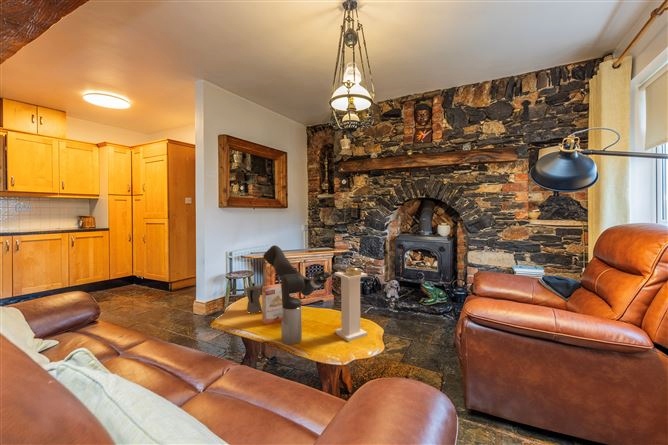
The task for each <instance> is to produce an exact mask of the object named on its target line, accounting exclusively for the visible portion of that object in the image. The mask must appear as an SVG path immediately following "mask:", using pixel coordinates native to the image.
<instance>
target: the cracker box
mask: <svg viewBox="0 0 668 445" xmlns="http://www.w3.org/2000/svg"><path fill="white" fill-rule="evenodd" d="M261 309H262V311H261V312H262V313H261V315H262V316H261V317H262V318H261V319H262V320H261V321H262V323H263V324H264V325H265V326H267V325H271V324H272V325H273V324H275V323H281V322H282V321H283V311H282V290H281V282H280V283H276V284H271V285H264V286H261Z"/></svg>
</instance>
